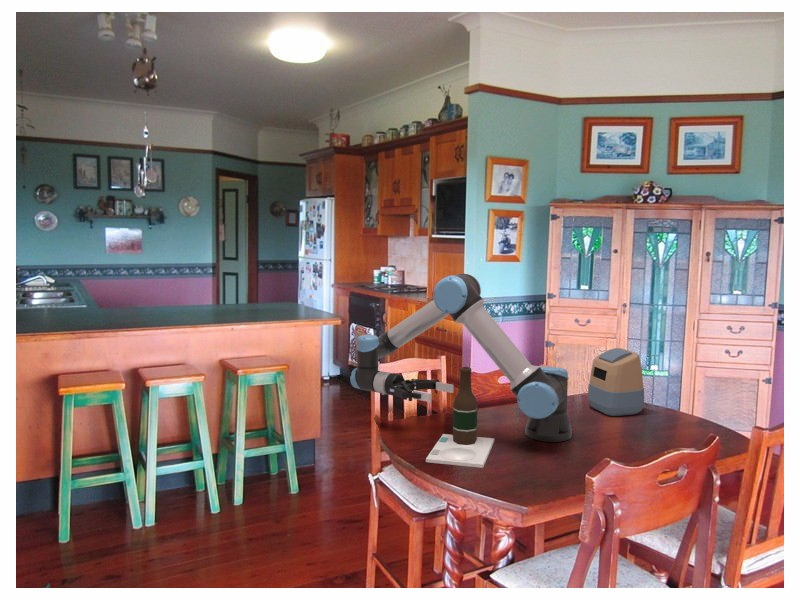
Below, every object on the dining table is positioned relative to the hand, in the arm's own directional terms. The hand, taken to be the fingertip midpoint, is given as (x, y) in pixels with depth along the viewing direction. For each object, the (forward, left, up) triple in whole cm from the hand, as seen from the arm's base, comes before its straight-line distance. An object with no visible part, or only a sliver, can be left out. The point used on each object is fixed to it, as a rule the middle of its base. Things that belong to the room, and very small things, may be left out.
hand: (442, 393), depth 209 cm
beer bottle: (-8, +3, -15) cm, 17 cm away
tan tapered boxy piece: (-56, -51, -16) cm, 77 cm away
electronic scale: (-8, +9, -16) cm, 20 cm away
